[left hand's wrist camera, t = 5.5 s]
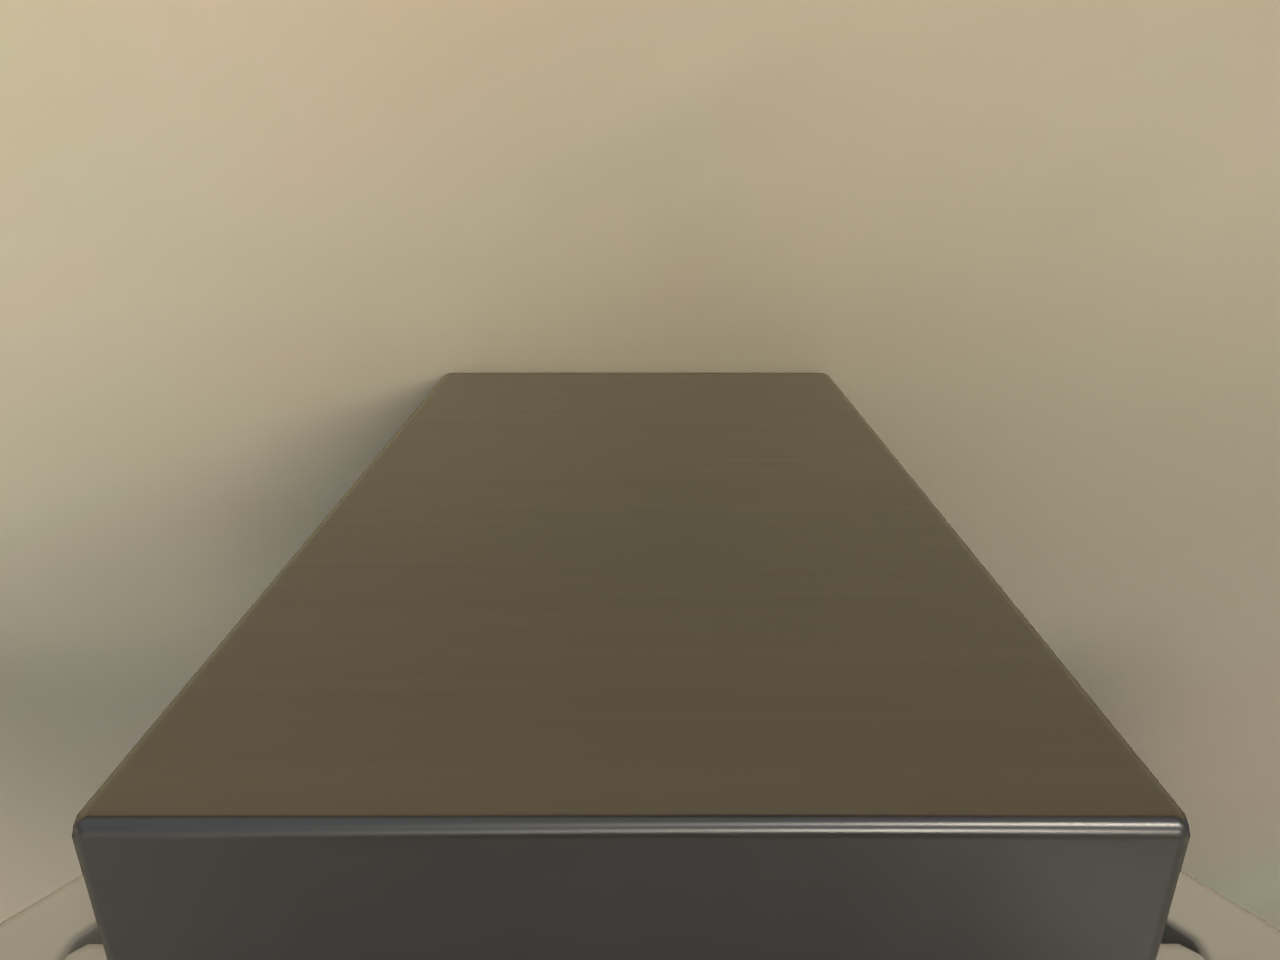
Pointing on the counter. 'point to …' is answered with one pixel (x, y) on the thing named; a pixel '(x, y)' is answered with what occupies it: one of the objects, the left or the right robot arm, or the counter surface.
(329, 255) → the counter surface
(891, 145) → the counter surface
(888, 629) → the bar
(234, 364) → the counter surface
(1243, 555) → the counter surface
